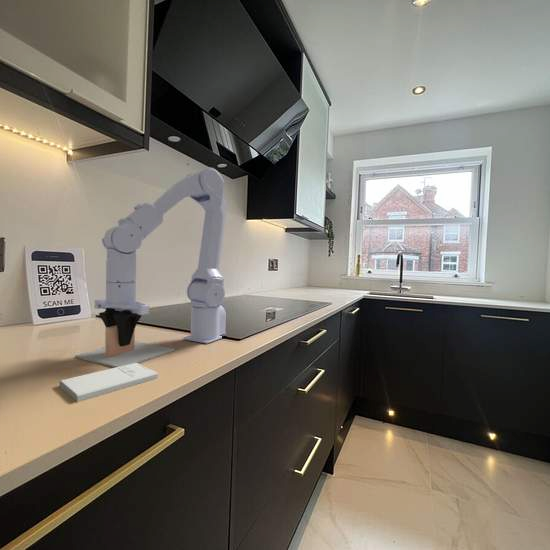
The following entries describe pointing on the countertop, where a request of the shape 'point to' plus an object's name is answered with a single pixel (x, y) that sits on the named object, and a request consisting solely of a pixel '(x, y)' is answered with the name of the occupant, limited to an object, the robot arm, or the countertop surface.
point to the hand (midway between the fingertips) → (120, 344)
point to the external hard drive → (106, 381)
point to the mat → (126, 355)
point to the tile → (116, 342)
